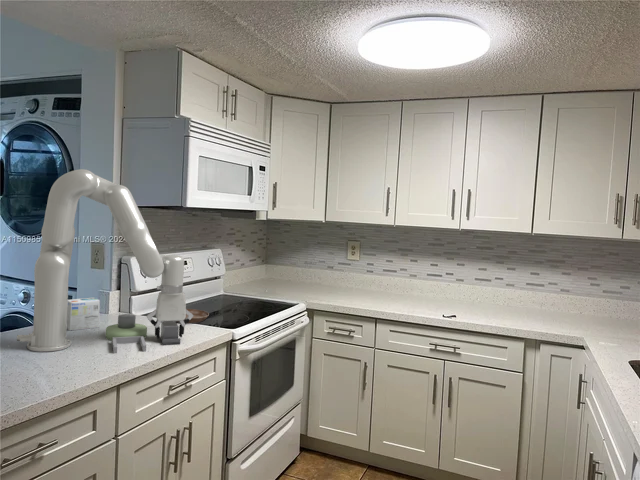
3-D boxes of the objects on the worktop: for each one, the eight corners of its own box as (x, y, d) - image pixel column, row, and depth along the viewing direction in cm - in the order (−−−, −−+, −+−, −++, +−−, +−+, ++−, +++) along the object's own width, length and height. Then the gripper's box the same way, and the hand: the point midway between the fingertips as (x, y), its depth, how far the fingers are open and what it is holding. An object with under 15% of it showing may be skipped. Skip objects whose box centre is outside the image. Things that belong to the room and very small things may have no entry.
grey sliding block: (162, 345, 164) (163, 328, 163) (159, 337, 173) (159, 321, 172) (180, 344, 166) (181, 328, 166) (175, 336, 175) (176, 321, 175)
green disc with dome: (106, 353, 151) (107, 332, 150) (105, 331, 175) (106, 313, 174) (152, 350, 157) (153, 330, 156) (144, 330, 181) (145, 312, 180)
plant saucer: (196, 313, 215) (197, 307, 215) (216, 322, 202) (216, 315, 202) (159, 317, 203) (160, 310, 203) (177, 326, 190) (178, 319, 190)
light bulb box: (93, 323, 184) (94, 296, 184) (99, 327, 180) (100, 300, 179) (63, 327, 177) (64, 299, 176) (69, 331, 172) (70, 302, 171)
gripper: (147, 291, 162) (145, 341, 163) (198, 290, 170) (195, 338, 171) (145, 287, 169) (143, 335, 170) (194, 287, 176) (191, 333, 177)
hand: (169, 336), depth 170 cm, fingers open, 7 cm apart
